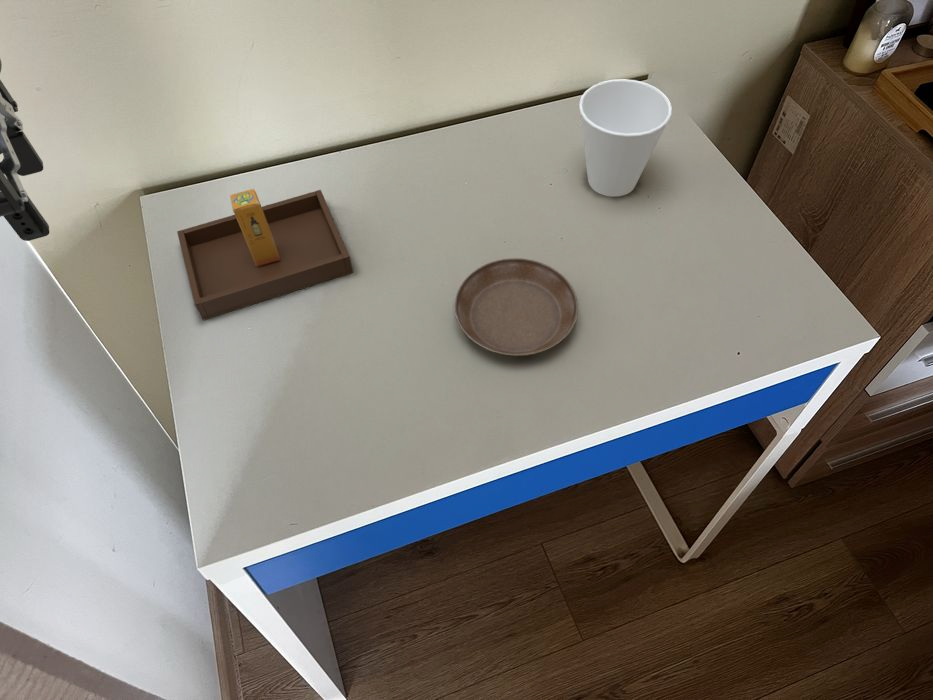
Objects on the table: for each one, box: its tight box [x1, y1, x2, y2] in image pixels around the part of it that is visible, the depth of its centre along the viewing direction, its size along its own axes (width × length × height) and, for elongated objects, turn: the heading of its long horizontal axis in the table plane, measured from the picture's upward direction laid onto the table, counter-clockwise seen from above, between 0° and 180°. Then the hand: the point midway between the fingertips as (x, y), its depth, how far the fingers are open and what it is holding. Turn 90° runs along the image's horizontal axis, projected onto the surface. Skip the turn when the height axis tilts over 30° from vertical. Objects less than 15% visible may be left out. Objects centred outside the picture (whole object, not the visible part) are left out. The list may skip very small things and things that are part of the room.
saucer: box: [454, 257, 579, 357], centre depth 85 cm, size 15×15×3 cm
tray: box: [176, 189, 354, 321], centre depth 92 cm, size 20×14×3 cm
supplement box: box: [229, 188, 280, 267], centre depth 89 cm, size 3×3×10 cm
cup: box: [578, 78, 673, 198], centre depth 95 cm, size 12×12×12 cm
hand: (34, 202), depth 60 cm, fingers open, 8 cm apart
